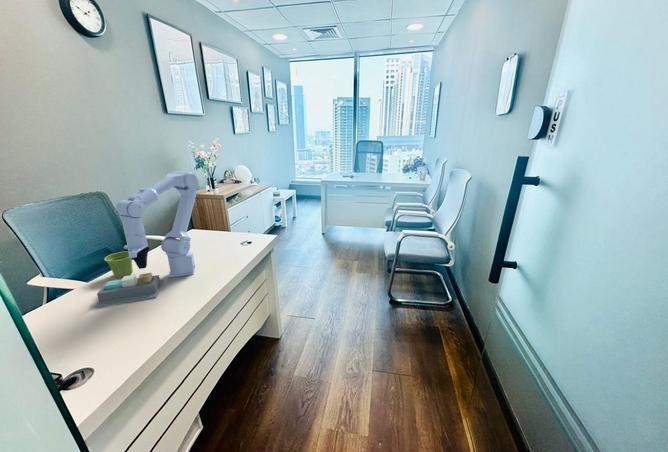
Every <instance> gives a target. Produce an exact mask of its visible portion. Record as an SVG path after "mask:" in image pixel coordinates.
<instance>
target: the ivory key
mask: <svg viewBox="0 0 668 452" xmlns="http://www.w3.org/2000/svg"><path fill="white" fill-rule="evenodd" d="M137 278H138V277H137V274H130V275H128V276H124V277H122V279H120V280H121V283H122V287H130V286H136V284H137Z"/></svg>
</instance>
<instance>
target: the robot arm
mask: <svg viewBox="0 0 668 452" xmlns="http://www.w3.org/2000/svg"><path fill="white" fill-rule="evenodd" d="M198 184H199V179H198V177H197V174H195V173H194V172H192V171H178V170H177V171H176V170H171V171H170V172H169V173H166V175H165V177H164V178H163V179H161V180H160V181H158V182H157V183H156V184H154V185H153V186H152V187H150V188H149V187H141V188H140V189H139V191H138V192H136V193H135V194H133V195H129V196H128V198H127V199H122V200H119V201H118V202H117V204H116V205H115V209H114V212H115V214H116V215H118V216H119V218H120V221H121V223H122V227H123V233H124V236H125V240H126V241H125V242H126V245H124V246H123V249H126V250H128V252H129V253H128V255H129V258H132V261H133V262H134V263H135V264H136V266H137V268H138V269H139V270H142V269H146V268H147V266H148V255H149V251H150V247H149V243H148V240H147V236H146V235H147V234H146V230H145V226H144V221H143V217H142V216H143V215H144V213H145V211H146V210H147V208H148V207H150V206H151V205H153V204H154V203H156V202H157V201H158V199H159V196H160V195H161V194H163V193H164V192H166V191H168V190H170V189H171V188H174V189H175V190H176V191H177V192H178V193H179V194H180V198H179V202H178V205H177V210H176V213H175V218H174V221H173V223H172V224H173V225H172V228H171V231H168V233H167V232H166V234H165V236H164V239H163V240H162V241H161V244H160V247H161V250H162V251H163V252H164V253H165V255H167V261H168V266H169V270H170V271H169V274H168V276H167V277H168V278H170V279H171V278H176V277H177V278H178V277H185V276H191V275H194V274H195V270H196V264H195V258H194V253H193V251H190V249H191V237H190V236H189V234H188V233H187V231H188V227H189V224H190V220H191V217H192V212H193V209H194V204H195V201H196V197H197V188H198Z"/></svg>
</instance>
